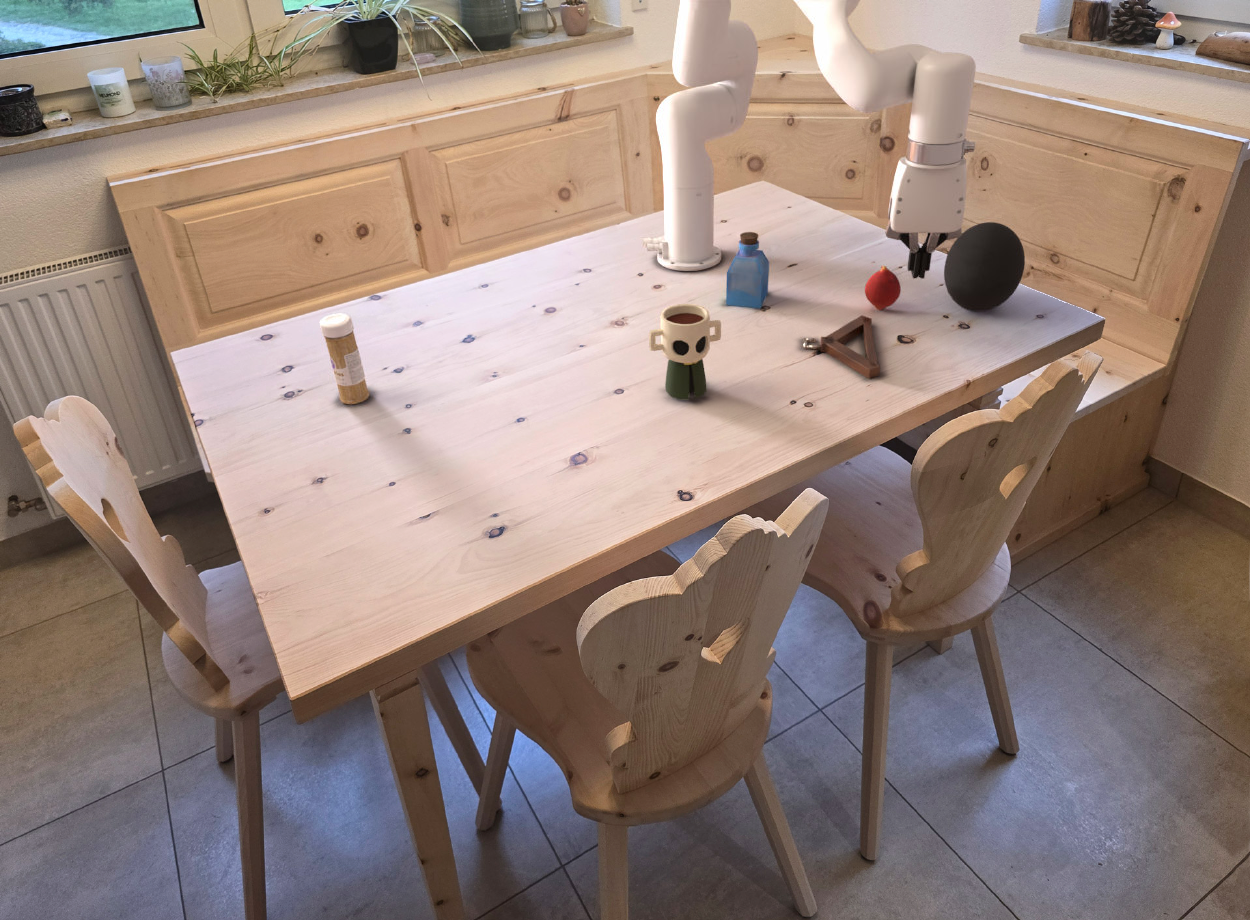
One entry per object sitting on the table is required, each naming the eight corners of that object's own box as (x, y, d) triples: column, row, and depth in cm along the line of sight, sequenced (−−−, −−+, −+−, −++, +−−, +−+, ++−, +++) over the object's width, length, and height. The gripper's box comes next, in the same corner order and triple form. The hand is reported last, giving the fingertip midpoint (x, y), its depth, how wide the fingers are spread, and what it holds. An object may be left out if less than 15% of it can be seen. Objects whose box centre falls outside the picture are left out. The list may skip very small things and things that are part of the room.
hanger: (804, 376, 137) (805, 367, 136) (802, 322, 152) (803, 314, 151) (879, 379, 135) (880, 370, 134) (870, 324, 150) (871, 315, 149)
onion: (894, 302, 156) (900, 259, 152) (899, 316, 152) (906, 272, 147) (861, 302, 157) (865, 259, 152) (865, 316, 152) (870, 273, 148)
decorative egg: (969, 287, 160) (984, 205, 151) (1029, 310, 151) (1049, 225, 143) (922, 306, 154) (935, 222, 146) (982, 331, 146) (1000, 244, 137)
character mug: (657, 410, 131) (654, 330, 124) (645, 386, 137) (641, 309, 129) (728, 397, 133) (729, 318, 125) (712, 375, 139) (713, 298, 131)
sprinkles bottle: (334, 399, 138) (312, 321, 130) (358, 387, 141) (338, 309, 133) (352, 408, 136) (331, 329, 128) (376, 396, 138) (357, 317, 131)
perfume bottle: (767, 294, 162) (770, 230, 155) (760, 308, 157) (763, 243, 150) (734, 290, 163) (735, 227, 157) (726, 305, 159) (727, 240, 152)
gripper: (985, 142, 126) (965, 265, 136) (876, 144, 128) (864, 265, 138) (996, 158, 120) (973, 285, 130) (881, 159, 122) (868, 284, 132)
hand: (917, 274), depth 134 cm, fingers closed
